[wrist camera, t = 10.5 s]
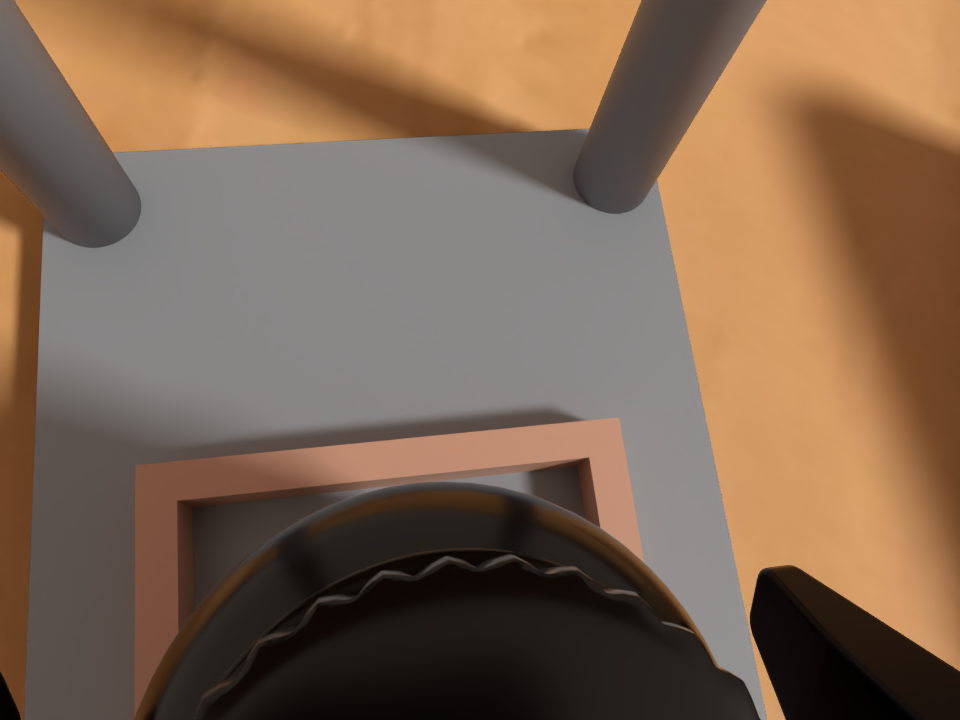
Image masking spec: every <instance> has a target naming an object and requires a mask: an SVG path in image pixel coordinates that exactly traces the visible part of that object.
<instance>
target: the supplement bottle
mask: <svg viewBox="0 0 960 720" xmlns="http://www.w3.org/2000/svg"><path fill="white" fill-rule="evenodd" d="M134 720H761V719H760V718H759V715H758V712H757V710H756V707H755V704H754V702H753V699H752V697H751V695H750V693H749V691H748V689H747V687H746V684H745V682H744V681H743V680H742V679H740V678H739V677H737V676H736V675H734V674H732V673H731V672H729V671H727V670H726V669H724V668H721V667H719V666H718V664H717V662H716V660H715V658H714V656H713V654H712V653H711V651H710V649H709V647H708V645H707V643H706V641H705V639H704V637H703V636H702V634H701V633H700V631H699V630H698V628H697V626H696V625H695V623H694V622H693V620H692V619H691V617H690V616H689V614H688V612H687V611H686V610H685V609H684V607H683V606H682V605H681V603H680V602H679V601H678V600H677V598H676V597H675V596H674V594H673V593H672V592H671V591H670V589H669V588H668V587H667V586H666V585H665V584H664V583H663V582H662V581H661V579H660V578H659V577H658V576H657V575H656V574H655V573H654V572H653V571H652V570H651V569H650V568H649V567H648V566H647V565H646V564H645V563H644V562H643V561H642V560H640V559H639V558H638V557H637V556H636V555H635V554H634V553H633V552H631V551H630V550H629V549H628V548H627V547H626V546H625V545H623V544H622V543H620V542H619V541H618V540H616V539H615V538H614V537H612V536H611V535H610V534H608V533H607V532H605V531H604V530H603V529H601V528H599V527H598V526H596V525H594V524H593V523H591V522H589V521H588V520H586V519H584V518H583V517H581V516H579V515H577V514H575V513H573V512H571V511H569V510H567V509H565V508H563V507H560V506H558V505H556V504H554V503H552V502H549V501H546V500H543V499H540V498H538V497H535V496H532V495H529V494H526V493H522V492H518V491H514V490H510V489H506V488H502V487H498V486H491V485H484V484H477V483H467V482H445V481H443V482H424V483H412V484H405V485H399V486H392V487H386V488H382V489H378V490H374V491H371V492H367V493H363V494H359V495H356V496H353V497H351V498H348V499H345V500H342V501H339V502H337V503H334V504H331V505H329V506H327V507H325V508H323V509H321V510H318V511H316V512H314V513H312V514H310V515H308V516H306V517H304V518H302V519H300V520H299V521H297V522H295V523H294V524H292V525H290V526H289V527H287V528H285V529H283V530H282V531H280V532H278V533H277V534H276V535H274V536H273V537H272V538H270V539H269V540H267V541H266V542H265V543H263V544H262V545H260V546H259V547H258V548H256V549H255V550H254V551H252V552H251V553H250V554H249V555H248V556H247V557H245V558H244V559H243V560H242V561H241V562H240V563H239V564H237V565H236V566H235V567H234V568H233V569H232V570H231V571H229V572H228V574H227V575H226V576H225V577H224V578H223V579H222V580H221V581H220V582H219V583H218V584H217V585H216V586H215V587H214V588H213V589H212V590H211V591H210V592H209V593H208V594H207V596H206V597H205V598H204V599H203V601H202V602H201V603H200V604H199V606H198V607H197V608H196V609H195V610H194V612H193V613H192V614H191V615H190V617H189V618H188V619H187V620H186V622H185V623H184V625H183V626H182V628H181V629H180V631H179V632H178V634H177V635H176V637H175V638H174V640H173V641H172V643H171V644H170V646H169V647H168V649H167V651H166V653H165V655H164V656H163V658H162V660H161V662H160V664H159V666H158V667H157V669H156V671H155V673H154V675H153V677H152V678H151V680H150V683H149V685H148V687H147V690H146V692H145V694H144V696H143V699H142V701H141V703H140V706H139V708H138V710H137V713H136V716H135V719H134Z"/></svg>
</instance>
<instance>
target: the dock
mask: <svg viewBox="0 0 960 720" xmlns="http://www.w3.org/2000/svg"><path fill="white" fill-rule="evenodd" d="M765 2H766V0H642V1H641V3H640V6H639V8H638V11H637V13H636V16H635V18H634V21H633V23H632V26H631V28H630V31H629V33H628V35H627V38H626V40H625V43H624V45H623V48H622V50H621V53H620V55H619V58H618V60H617V63H616V65H615V68H614V70H613V73H612V75H611V78H610V80H609V83H608V85H607V87H606V90H605V92H604V95H603V97H602V100H601V102H600V105H599V107H598V110H597V112H596V115H595V117H594V120H593V122H592V125H591V127H590V129H573V130H554V131H534V132H514V133H494V134H475V135H455V136H435V137H415V138H395V139H376V140H356V141H336V142H316V143H297V144H277V145H257V146H237V147H217V148H198V149H178V150H158V151H138V152H119V153H112V151H111V149H110V148H109V146H108V145H107V143H106V142H105V140H104V139H103V137H102V136H101V134H100V132H99V131H98V129H97V128H96V126H95V125H94V123H93V122H92V120H91V119H90V117H89V115H88V114H87V112H86V111H85V109H84V108H83V106H82V105H81V103H80V101H79V100H78V98H77V97H76V95H75V94H74V92H73V91H72V89H71V88H70V86H69V84H68V83H67V81H66V80H65V78H64V77H63V75H62V74H61V72H60V71H59V69H58V67H57V66H56V64H55V63H54V61H53V60H52V58H51V57H50V55H49V54H48V52H47V50H46V49H45V47H44V46H43V44H42V43H41V41H40V40H39V38H38V37H37V35H36V33H35V32H34V30H33V29H32V27H31V26H30V24H29V23H28V21H27V19H26V18H25V16H24V15H23V13H22V12H21V10H20V9H19V7H18V6H17V4H16V2H15V1H14V0H0V170H1V171H2V172H3V173H4V174H5V175H6V176H7V177H8V178H9V179H10V180H11V182H12V183H13V184H14V185H15V186H16V187H17V188H18V189H19V190H20V191H21V192H22V193H23V194H24V195H25V197H26V198H27V199H28V200H29V201H30V202H31V203H32V204H33V205H34V206H35V207H36V208H37V209H38V210H39V212H40V213H41V214H42V215H43V216H44V219H43V244H42V270H41V295H40V320H39V346H38V371H37V397H36V422H35V448H34V473H33V499H32V524H31V550H30V575H29V601H28V626H27V651H26V677H25V702H24V720H134V719H135V716H136V713H137V710H138V708H139V706H140V703H141V701H142V699H143V696H144V694H145V692H146V690H147V687H148V685H149V683H150V680H151V678H152V677H153V675H154V673H155V671H156V669H157V667H158V666H159V664H160V662H161V660H162V658H163V656H164V655H165V653H166V651H167V649H168V647H169V646H170V644H171V643H172V641H173V640H174V638H175V637H176V635H177V634H178V632H179V631H180V629H181V628H182V626H183V625H184V623H185V622H186V620H187V619H188V618H189V617H190V615H191V614H192V613H193V612H194V610H195V609H196V608H197V607H198V606H199V604H200V603H201V602H202V601H203V599H204V598H205V597H206V596H207V594H208V593H209V592H210V591H211V590H212V589H213V588H214V587H215V586H216V585H217V584H218V583H219V582H220V581H221V580H222V579H223V578H224V577H225V576H226V575H227V574H228V572H229V571H231V570H232V569H233V568H234V567H235V566H236V565H237V564H239V563H240V562H241V561H242V560H243V559H244V558H245V557H247V556H248V555H249V554H250V553H251V552H252V551H254V550H255V549H256V548H258V547H259V546H260V545H262V544H263V543H265V542H266V541H267V540H269V539H270V538H272V537H273V536H274V535H276V534H277V533H278V532H280V531H282V530H283V529H285V528H287V527H289V526H290V525H292V524H294V523H295V522H297V521H299V520H300V519H302V518H304V517H306V516H308V515H310V514H312V513H314V512H316V511H318V510H321V509H323V508H325V507H327V506H329V505H331V504H334V503H337V502H339V501H342V500H345V499H348V498H351V497H353V496H356V495H359V494H363V493H367V492H371V491H374V490H378V489H382V488H386V487H392V486H399V485H405V484H412V483H424V482H443V481H445V482H467V483H477V484H484V485H491V486H498V487H502V488H506V489H510V490H514V491H518V492H522V493H526V494H529V495H532V496H535V497H538V498H540V499H543V500H546V501H549V502H552V503H554V504H556V505H558V506H560V507H563V508H565V509H567V510H569V511H571V512H573V513H575V514H577V515H579V516H581V517H583V518H584V519H586V520H588V521H589V522H591V523H593V524H594V525H596V526H598V527H599V528H601V529H603V530H604V531H605V532H607V533H608V534H610V535H611V536H612V537H614V538H615V539H616V540H618V541H619V542H620V543H622V544H623V545H625V546H626V547H627V548H628V549H629V550H630V551H631V552H633V553H634V554H635V555H636V556H637V557H638V558H639V559H640V560H642V561H643V562H644V563H645V564H646V565H647V566H648V567H649V568H650V569H651V570H652V571H653V572H654V573H655V574H656V575H657V576H658V577H659V578H660V579H661V581H662V582H663V583H664V584H665V585H666V586H667V587H668V588H669V589H670V591H671V592H672V593H673V594H674V596H675V597H676V598H677V600H678V601H679V602H680V603H681V605H682V606H683V607H684V609H685V610H686V611H687V612H688V614H689V616H690V617H691V619H692V620H693V622H694V623H695V625H696V626H697V628H698V630H699V631H700V633H701V634H702V636H703V637H704V639H705V641H706V643H707V645H708V647H709V649H710V651H711V653H712V654H713V656H714V658H715V660H716V662H717V664H718V666H719V667H721V668H724V669H726V670H727V671H729V672H731V673H732V674H734V675H736V676H737V677H739V678H740V679H742V680H743V681H744V682H745V684H746V687H747V689H748V691H749V693H750V695H751V697H752V699H753V702H754V704H755V707H756V710H757V712H758V715H759V718H760V719H761V720H767V716H766V711H765V706H764V702H763V697H762V692H761V687H760V682H759V677H758V672H757V667H756V662H755V657H754V653H753V648H752V643H751V638H750V633H749V628H748V623H747V618H746V613H745V608H744V604H743V599H742V594H741V589H740V584H739V579H738V574H737V569H736V564H735V559H734V555H733V550H732V545H731V540H730V535H729V530H728V525H727V520H726V515H725V511H724V506H723V501H722V496H721V491H720V486H719V481H718V476H717V471H716V466H715V462H714V457H713V452H712V447H711V442H710V437H709V432H708V427H707V422H706V417H705V413H704V408H703V403H702V398H701V393H700V388H699V383H698V378H697V373H696V368H695V364H694V359H693V354H692V349H691V344H690V339H689V334H688V329H687V324H686V319H685V315H684V310H683V305H682V300H681V295H680V290H679V285H678V280H677V275H676V270H675V266H674V261H673V256H672V251H671V246H670V241H669V236H668V231H667V226H666V221H665V217H664V212H663V207H662V202H661V197H660V192H659V187H658V182H657V178H658V177H659V175H660V173H661V172H662V170H663V169H664V167H665V165H666V164H667V162H668V160H669V159H670V157H671V156H672V154H673V152H674V151H675V149H676V147H677V146H678V144H679V142H680V141H681V139H682V138H683V136H684V134H685V133H686V131H687V129H688V128H689V126H690V125H691V123H692V121H693V120H694V118H695V116H696V115H697V113H698V111H699V110H700V108H701V107H702V105H703V103H704V102H705V100H706V98H707V97H708V95H709V93H710V92H711V90H712V89H713V87H714V85H715V84H716V82H717V80H718V79H719V77H720V76H721V74H722V72H723V71H724V69H725V67H726V66H727V64H728V62H729V61H730V59H731V58H732V56H733V54H734V53H735V51H736V49H737V48H738V46H739V45H740V43H741V41H742V40H743V38H744V36H745V35H746V33H747V31H748V30H749V28H750V27H751V25H752V23H753V22H754V20H755V18H756V17H757V15H758V14H759V12H760V10H761V9H762V7H763V5H764V4H765Z"/></svg>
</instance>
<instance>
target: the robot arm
mask: <svg viewBox="0 0 960 720" xmlns="http://www.w3.org/2000/svg"><path fill="white" fill-rule="evenodd" d="M750 625H751V630H752V634H753V637H754V639H755V642H756V644H757V647H758V650H759V652H760V655H761V657H762V660H763V662H764V665H765V668H766V670H767V673H768V675H769V678H770V680H771V683H772V686H773V688H774V691H775V693H776V696H777V698H778V701H779V704H780V706H781V709H782V711H783V714H784V716H785V719H786V720H960V671H958V670H957V669H955V668H954V667H952V666H951V665H949V664H947V663H946V662H944V661H943V660H941V659H940V658H938V657H936V656H935V655H933V654H932V653H930V652H929V651H927V650H926V649H924V648H922V647H921V646H919V645H918V644H916V643H915V642H913V641H912V640H910V639H908V638H907V637H905V636H904V635H902V634H901V633H899V632H898V631H896V630H894V629H893V628H891V627H890V626H888V625H887V624H885V623H884V622H882V621H880V620H879V619H877V618H876V617H874V616H873V615H871V614H869V613H868V612H866V611H865V610H863V609H862V608H860V607H859V606H857V605H855V604H854V603H852V602H851V601H849V600H848V599H846V598H845V597H843V596H841V595H840V594H838V593H837V592H835V591H834V590H832V589H831V588H829V587H827V586H826V585H824V584H823V583H821V582H820V581H818V580H816V579H815V578H813V577H812V576H810V575H809V574H807V573H806V572H804V571H802V570H801V569H799V568H797V567H795V566H791V565H785V566H778V567H770V568H765V569H762V570H761V572H760V573H759V575H758V578H757V582H756V587H755V592H754V597H753V602H752V607H751V612H750ZM0 720H21V718H20V714H19V711H18V709H17V707H16V704H15V702H14V700H13V698H12V695H11V693H10V691H9V689H8V686H7V684H6V682H5V680H4V677H3V675H2V674H1V672H0Z"/></svg>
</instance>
